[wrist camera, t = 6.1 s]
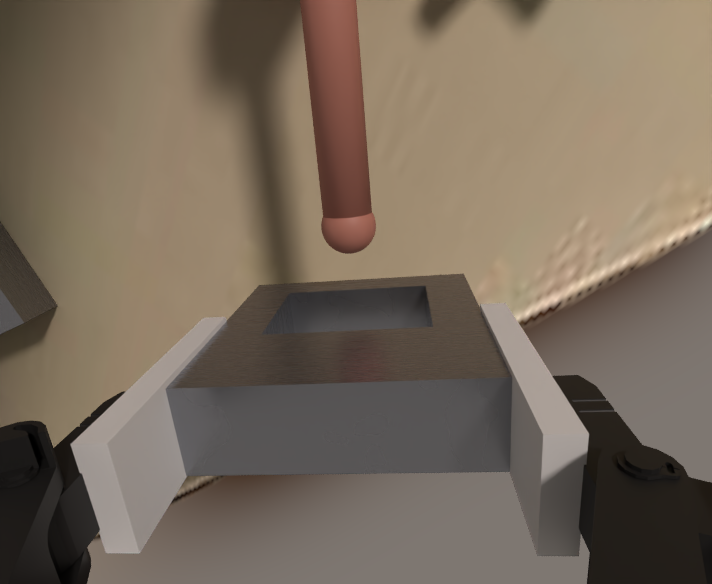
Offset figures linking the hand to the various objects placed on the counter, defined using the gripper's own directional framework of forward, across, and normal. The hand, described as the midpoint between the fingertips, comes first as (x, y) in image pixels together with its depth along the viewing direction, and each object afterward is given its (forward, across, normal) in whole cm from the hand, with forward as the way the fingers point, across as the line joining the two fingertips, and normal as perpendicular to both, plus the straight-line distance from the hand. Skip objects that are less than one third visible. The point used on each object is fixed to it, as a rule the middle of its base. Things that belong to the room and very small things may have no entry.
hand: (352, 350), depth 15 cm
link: (+4, 0, 0) cm, 4 cm away
